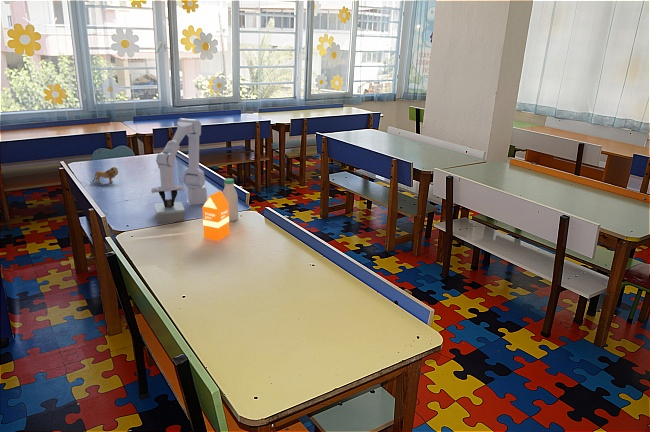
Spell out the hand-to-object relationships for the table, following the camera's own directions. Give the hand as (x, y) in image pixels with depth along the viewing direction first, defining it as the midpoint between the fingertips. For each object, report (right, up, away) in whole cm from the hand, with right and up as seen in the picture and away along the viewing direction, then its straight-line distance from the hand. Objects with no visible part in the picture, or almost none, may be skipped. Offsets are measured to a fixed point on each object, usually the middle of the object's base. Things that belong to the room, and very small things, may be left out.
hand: (169, 205), depth 237 cm
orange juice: (+26, -14, -14) cm, 33 cm away
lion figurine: (-51, +14, +50) cm, 73 cm away
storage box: (0, -6, +2) cm, 6 cm away
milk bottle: (+28, -7, +5) cm, 29 cm away
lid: (0, -1, +1) cm, 1 cm away
